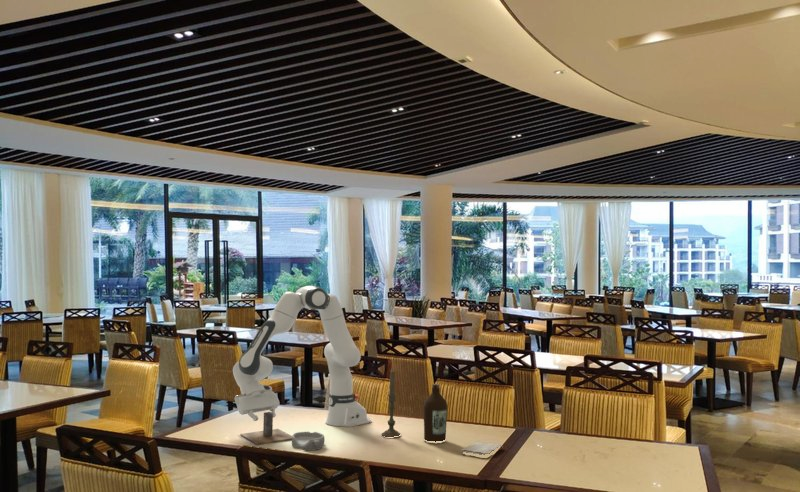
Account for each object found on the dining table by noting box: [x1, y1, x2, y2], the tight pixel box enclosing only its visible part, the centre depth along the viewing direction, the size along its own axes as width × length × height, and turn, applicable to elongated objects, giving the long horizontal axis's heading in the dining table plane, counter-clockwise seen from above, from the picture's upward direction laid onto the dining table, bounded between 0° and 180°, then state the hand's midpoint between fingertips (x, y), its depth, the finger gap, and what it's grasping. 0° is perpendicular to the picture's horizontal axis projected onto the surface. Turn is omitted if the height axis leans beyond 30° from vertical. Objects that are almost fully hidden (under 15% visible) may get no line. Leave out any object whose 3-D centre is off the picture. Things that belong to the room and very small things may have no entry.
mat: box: [237, 434, 292, 447], centre depth 289 cm, size 20×20×1 cm
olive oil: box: [423, 383, 448, 442], centre depth 291 cm, size 11×11×25 cm
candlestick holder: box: [380, 369, 401, 438], centre depth 300 cm, size 9×9×30 cm
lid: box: [239, 411, 292, 446], centre depth 289 cm, size 18×18×11 cm
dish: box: [291, 431, 326, 451], centre depth 279 cm, size 14×14×5 cm
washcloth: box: [461, 441, 502, 455], centre depth 276 cm, size 12×18×3 cm, turn 150°
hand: (265, 418), depth 291 cm, fingers open, 8 cm apart
